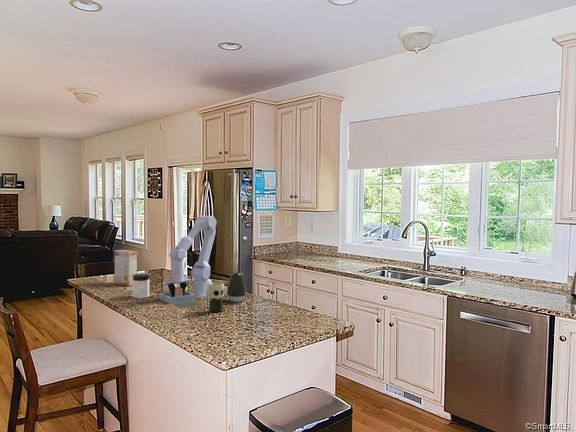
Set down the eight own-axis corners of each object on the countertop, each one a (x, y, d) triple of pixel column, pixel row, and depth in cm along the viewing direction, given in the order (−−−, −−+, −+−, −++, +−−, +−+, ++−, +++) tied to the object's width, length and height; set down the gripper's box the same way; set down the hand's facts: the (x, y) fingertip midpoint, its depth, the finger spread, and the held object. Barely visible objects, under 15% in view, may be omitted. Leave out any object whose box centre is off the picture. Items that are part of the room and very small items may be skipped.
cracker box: (137, 285, 261) (137, 250, 260) (128, 286, 256) (128, 251, 255) (122, 282, 268) (122, 249, 267) (114, 283, 263) (114, 250, 262)
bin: (184, 296, 233) (184, 289, 233) (195, 301, 222) (195, 294, 222) (159, 299, 225) (159, 292, 224) (169, 305, 213) (169, 298, 213)
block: (179, 298, 226) (179, 287, 226) (182, 299, 223) (182, 288, 223) (172, 299, 224) (172, 287, 223) (175, 300, 220) (175, 289, 220)
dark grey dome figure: (249, 300, 226) (250, 271, 226) (239, 304, 217) (240, 274, 216) (233, 298, 231) (233, 270, 230) (222, 302, 221) (223, 273, 221)
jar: (134, 299, 224) (134, 276, 223) (130, 296, 231) (130, 274, 230) (151, 297, 229) (151, 275, 228) (147, 294, 236) (147, 272, 235)
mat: (194, 302, 220) (194, 301, 220) (203, 306, 212) (203, 305, 212) (172, 305, 213) (172, 304, 213) (180, 309, 205) (180, 308, 205)
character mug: (209, 314, 197) (209, 286, 197) (202, 311, 203) (202, 283, 202) (230, 311, 204) (230, 284, 203) (222, 307, 210) (223, 281, 209)
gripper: (187, 269, 230) (187, 294, 231) (161, 271, 221) (160, 297, 222) (193, 271, 225) (192, 296, 225) (166, 273, 216) (166, 300, 216)
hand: (177, 297), depth 223 cm, fingers closed on block, 4 cm apart
